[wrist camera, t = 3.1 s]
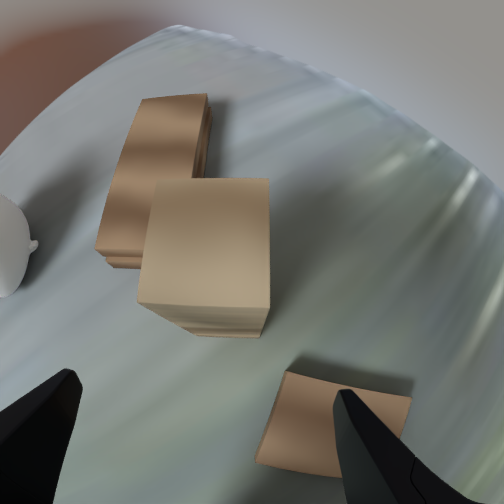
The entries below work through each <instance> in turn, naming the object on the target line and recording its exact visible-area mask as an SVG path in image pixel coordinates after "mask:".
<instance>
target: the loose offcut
mask: <svg viewBox="0 0 504 504" xmlns="http://www.w3.org/2000/svg"><path fill="white" fill-rule="evenodd" d="M340 389H352V390H353V391H354V392H355V393H356V394H357V395H358V396H359V398H360V399H361V400H362V401H363V402H364V403H365V404H366V405H367V406H368V407H369V408H370V409H371V410H372V411H373V412H374V413H375V414H376V415H377V416H378V418H379V419H380V420H381V421H382V422H383V423H384V424H385V425H386V426H387V427H388V428H389V429H390V430H391V431H392V432H393V433H394V434H395V435H396V436H397V437H398V438H399V439H400V436H401V433H402V430H403V427H404V424H405V421H406V417H407V414H408V411H409V407H410V404H411V400H412V397H405V396H399V395H392V394H386V393H381V392H375V391H370V390H364V389H359V388H354V387H350V386H345V385H340V384H336V383H331V382H327V381H323V380H319V379H315V378H311V377H307V376H303V375H299V374H295V373H292V372H288V371H285V372H284V375H283V378H282V381H281V384H280V387H279V390H278V393H277V396H276V399H275V402H274V405H273V408H272V411H271V413H270V416H269V419H268V422H267V425H266V427H265V430H264V433H263V436H262V438H261V441H260V443H259V446H258V449H257V451H256V454H255V463H259V464H263V465H267V466H272V467H276V468H281V469H286V470H291V471H296V472H302V473H308V474H314V475H321V476H329V477H338V478H342V474H341V470H340V465H339V460H338V455H337V450H336V442H335V430H334V419H333V403H334V400H335V397H336V395H337V392H338V390H340Z"/></svg>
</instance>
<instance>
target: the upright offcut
mask: <svg viewBox="0 0 504 504" xmlns="http://www.w3.org/2000/svg"><path fill="white" fill-rule="evenodd" d="M137 303H139V304H141V305H142V306H144V307H146V308H147V309H149V310H151V311H153V312H154V313H156V314H158V315H160V316H161V317H163V318H165V319H167V320H168V321H170V322H172V323H174V324H176V325H178V326H179V327H181V328H183V329H185V330H187V331H189V332H191V333H192V334H194V335H196V336H205V337H229V338H259V337H260V334H261V331H262V328H263V326H264V323H265V320H266V317H267V314H268V312H269V309H270V222H269V179H266V178H188V179H159V180H157V183H156V187H155V192H154V197H153V201H152V206H151V211H150V217H149V222H148V228H147V233H146V239H145V245H144V251H143V258H142V265H141V272H140V279H139V287H138V296H137Z"/></svg>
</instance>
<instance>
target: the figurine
mask: <svg viewBox="0 0 504 504" xmlns="http://www.w3.org/2000/svg"><path fill="white" fill-rule="evenodd" d="M37 247H38V241H37V240H34V241H31V239H30V231H29V226H28V222H27V220H26V217H25V216H24V214H23V212H22V211H21V209H20V208H19V207H18V206H17V205H16V204H15V203H14V202H12V201H11V200H10V199H8V198H7V197H5V196H3V195H1V194H0V298H1V297H7V296H10V295H11V294H13V293H14V292H15V291H16V289H17V288H18V287H19V285H20V283H21V281H22V279H23V277H24V274H25V271H26V268H27V264H28V259H29V255H30V253H32V252H33V251H35V250H36V249H37Z"/></svg>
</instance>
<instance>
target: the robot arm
mask: <svg viewBox="0 0 504 504" xmlns="http://www.w3.org/2000/svg"><path fill="white" fill-rule="evenodd" d="M82 391H83V387H82V384H81V382H80V380H79V378H78V376H77V374H76V372H75V371H74V370H70V369H63V370H61V371H60V372H58V373H57V374H55V375H54V376H52V377H51V378H49V379H48V380H46V381H45V382H43V383H42V384H40V385H39V386H37V387H36V388H34V389H33V390H32V391H30V392H29V393H27V394H26V395H24V396H23V397H21V398H20V399H18V400H17V401H15V402H14V403H12V404H11V405H9V406H8V407H7V408H5V409H4V410H2V411H1V412H0V504H53V501H54V496H55V492H56V488H57V484H58V480H59V476H60V472H61V468H62V465H63V461H64V457H65V454H66V451H67V447H68V444H69V441H70V438H71V435H72V431H73V428H74V425H75V421H76V417H77V412H78V408H79V403H80V399H81V395H82ZM333 419H334V430H335V442H336V450H337V455H338V460H339V465H340V470H341V474H342V479H343V484H344V489H345V494H346V499H347V504H483V503H478V502H474V501H472V500H470V499H468V498H466V497H464V496H463V495H462V494H460V493H459V492H457V491H456V490H455V489H453V488H452V487H451V486H449V485H448V484H447V483H445V482H444V481H443V480H441V479H440V478H439V477H438V476H437V475H435V474H434V473H433V472H432V471H431V470H430V469H429V468H428V467H426V466H425V465H424V464H423V463H422V462H421V461H420V460H419V459H418V458H417V457H415V455H414V454H413V453H412V452H411V451H410V450H409V449H408V448H407V447H406V446H405V444H404V443H403V442H402V441H401V440H400V439H399V438H398V437H397V436H396V435H395V434H394V433H393V432H392V431H391V430H390V429H389V428H388V427H387V426H386V425H385V424H384V423H383V422H382V421H381V420H380V419H379V418H378V416H377V415H376V414H375V413H374V412H373V411H372V410H371V409H370V408H369V407H368V406H367V405H366V404H365V403H364V402H363V401H362V400H361V399H360V398H359V396H358V395H357V394H356V393H355V392H354V391H353V390H352V389H340V390H338V392H337V395H336V397H335V400H334V403H333Z"/></svg>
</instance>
